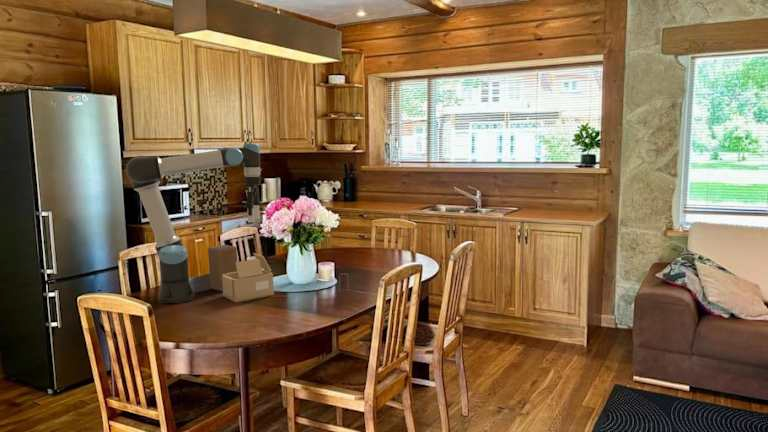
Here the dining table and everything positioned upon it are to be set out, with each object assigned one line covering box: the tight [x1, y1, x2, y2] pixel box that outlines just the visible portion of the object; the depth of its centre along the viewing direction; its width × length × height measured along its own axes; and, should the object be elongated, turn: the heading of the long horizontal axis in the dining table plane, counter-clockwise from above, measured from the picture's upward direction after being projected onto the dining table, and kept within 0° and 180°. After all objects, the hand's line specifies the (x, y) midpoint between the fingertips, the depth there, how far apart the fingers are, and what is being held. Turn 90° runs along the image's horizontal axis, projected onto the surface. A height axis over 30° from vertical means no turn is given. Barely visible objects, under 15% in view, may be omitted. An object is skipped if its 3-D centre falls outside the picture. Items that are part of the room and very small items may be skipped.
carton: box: [222, 269, 275, 303], centre depth 261 cm, size 19×15×10 cm
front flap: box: [235, 259, 263, 278], centre depth 254 cm, size 11×7×1 cm
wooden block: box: [207, 244, 238, 292], centre depth 274 cm, size 10×10×20 cm
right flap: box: [253, 252, 272, 273], centre depth 264 cm, size 8×10×1 cm
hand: (253, 220), depth 280 cm, fingers open, 13 cm apart
